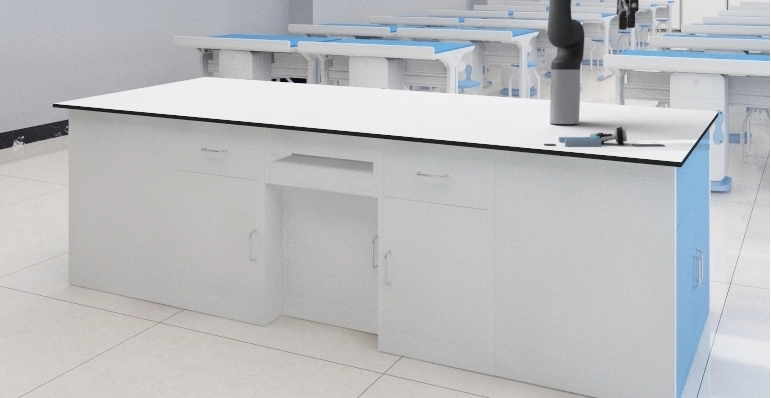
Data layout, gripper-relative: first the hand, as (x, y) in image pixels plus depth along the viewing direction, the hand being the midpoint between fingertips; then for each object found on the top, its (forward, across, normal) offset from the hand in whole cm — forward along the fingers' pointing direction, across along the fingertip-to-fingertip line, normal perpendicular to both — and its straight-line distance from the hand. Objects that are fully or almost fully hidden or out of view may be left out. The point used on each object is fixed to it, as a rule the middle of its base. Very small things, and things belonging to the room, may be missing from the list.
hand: (626, 28), depth 270 cm
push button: (+32, -8, +12) cm, 35 cm away
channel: (+33, -9, +15) cm, 37 cm away
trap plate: (+33, -8, +24) cm, 41 cm away
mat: (+33, -11, -4) cm, 35 cm away
